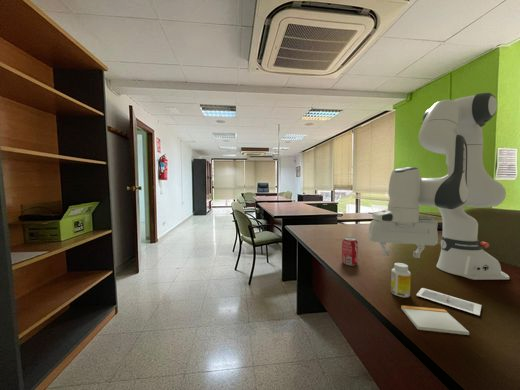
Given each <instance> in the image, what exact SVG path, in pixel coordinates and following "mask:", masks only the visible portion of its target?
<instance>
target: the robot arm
mask: <svg viewBox="0 0 520 390" xmlns="http://www.w3.org/2000/svg"><path fill="white" fill-rule="evenodd" d="M497 109H498V103H497V98H496V96H495V95H494V94H492V93H491V92H482V93H481V92H480V93H477V94H475V95H469V96H462V97H459V98H454V100H453V99H443V100H440V101H437V102H435V103H434V104H433V105H432V106H431V107H430V108H428V109H427V110H426V111H425V112H424V113H423V116H422V125H421V127H420V129H419V132H418V139H417V141H418V142H419V144H420V146H421V147H422V148H423V149H425V150H427V151H429V152H431V153H434V154H440V155H443V156H446V158H445V165H446V167H447V174H446V175H444V176H442V177H422V176H421V175H420V169H419V168H418V167H414V166H405V167H399V168H398V167H397V168H395V169H393V170H392V171H391V174H390V177H389V182H388V183H389V184H388V197H389V201H388V204H387V209H386V208H385V209H383V210H379V211H374V212H373V213H372V215H371V216H372V220H371V221H370V223H369V227H368V232H367V233H368V235H367V237H368V239H369V240H370V241H371V242H373V243H378V244H379V246H380V248H381V249H382V255H383V256H390V250H388V249H386V247H385V246H386V245H387V244H399V245H401V244H403V245H416V247H417V248H416V250H413V251H412V258H418V259H420V258H421V253H422V252H423V251H424V249H426V246H436V245H437V244H438V243H439V236H438V235H439V234H438V225H439V224H438V223H439V222H438V220H437V219H436V218H435V217H432V216H422V215H420V206H424V207H435V208H437V209H438V211H439V213H440V216H441V219H442V220H441V221H442V235H441V237H440V253H439V258H438V261H437V263H436V266H435V267H436V268H438V269H439V270H441V271H443V272H445V273H448V274H451V275H456V276H460V277H463V278H467V279H469V280H475V281H476V280H477V281H478V280H481V281H483V280H487V281H488V280H495V281H496V280H510V276H509V275H508V274H507V273H505V272H504V271H502V267H501V264H500V262H499V260H498V259H496V258H495V257H494V256H492V255H491V254H489V253H488V252H487V251H485V250H484V249H483V247H484V248H488V247H489V243H488V242H486V241H480V240H479V239H478V235H479V234H478V233H479V223H478V221H477V219H475V218H474V217H473V216H471V215H470V214H468V213H467V212H466V211H465V210H464V207H469V208H470V207H472V208H492V207H498V206H499V205H501V204H502V203H503V202H504V201H505V199H506V196H507V190H506V188H505V187H504V185H503V184H502V183H500V182H499V181H498V180H495V179H494V178H493V177H492V176H490V174H489V173H488V172H487V170H486V169H485V165H484V157H483V151H484V134H483V127H484V126H485V125H486V123H488V122H489V121H490V120H492V119H493V118H494V116H495V114H496V112H497Z"/></svg>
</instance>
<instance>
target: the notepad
mask: <svg viewBox="0 0 520 390" xmlns="http://www.w3.org/2000/svg"><path fill="white" fill-rule="evenodd" d="M400 306H401V307H400V308H401V310H402V311H403V312H404V313H405V315H406V316H407V318H408V319H409V320H410V322H411V323H412V324H413V325H414V326H415V328H416V329H417V330H420V331H429V332H438V333H449V334H455V335H456V334H457V335H467V336H469V335H470V331H469V330H467V329H466V327H464V326H463V325H462V324H461V323H460V322H459V321H458V320H456V318H454V317H453V316H452V315H451V314H450V313H449V312H448V311H447V310H446V309H444V308H434V307H422V306H413V305H400Z"/></svg>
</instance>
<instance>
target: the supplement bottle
mask: <svg viewBox="0 0 520 390" xmlns="http://www.w3.org/2000/svg"><path fill="white" fill-rule="evenodd" d="M393 265H394V266H393V268H391V273H390V274H391V275H390V279H391V280H390V292H391V293H392V294H393V295H395V296H398V297H400V298H409V297H410V296H411V277H412V273H411V271H409V265H408V264H406V263H404V262H403V263H402V262H395V263H394V264H393Z"/></svg>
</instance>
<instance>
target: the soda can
mask: <svg viewBox="0 0 520 390" xmlns="http://www.w3.org/2000/svg"><path fill="white" fill-rule="evenodd" d="M341 262H342V263H343V264H344V265H346V266H350V267H353V266H356V265H358V262H359V241H358V238H356V237H352V236H351V237H350V236H345V237H343V240H342V242H341Z"/></svg>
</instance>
